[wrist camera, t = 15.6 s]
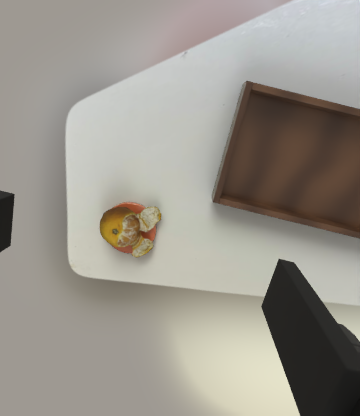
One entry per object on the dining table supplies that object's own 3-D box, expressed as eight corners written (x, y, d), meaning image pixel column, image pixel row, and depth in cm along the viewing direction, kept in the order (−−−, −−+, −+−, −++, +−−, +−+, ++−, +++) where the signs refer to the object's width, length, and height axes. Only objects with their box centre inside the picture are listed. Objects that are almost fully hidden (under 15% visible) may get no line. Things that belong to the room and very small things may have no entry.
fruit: (149, 258, 45) (145, 269, 41) (97, 242, 45) (88, 252, 41) (163, 208, 43) (160, 216, 39) (109, 192, 42) (101, 198, 39)
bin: (211, 196, 43) (212, 202, 39) (242, 84, 38) (246, 80, 35) (373, 236, 43) (387, 245, 40) (422, 129, 39) (442, 130, 35)
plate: (100, 244, 46) (99, 246, 45) (109, 196, 43) (107, 197, 43) (150, 256, 46) (149, 258, 45) (161, 209, 44) (160, 210, 43)
